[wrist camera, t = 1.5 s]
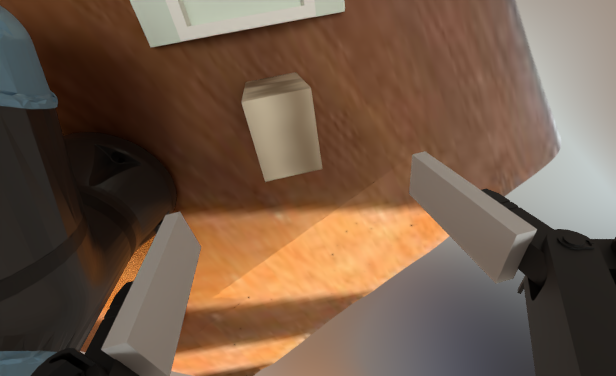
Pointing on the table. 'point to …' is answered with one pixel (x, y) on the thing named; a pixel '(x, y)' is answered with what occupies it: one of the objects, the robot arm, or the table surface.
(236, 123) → the table surface
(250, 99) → the tan wooden block
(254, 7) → the chassis bay
